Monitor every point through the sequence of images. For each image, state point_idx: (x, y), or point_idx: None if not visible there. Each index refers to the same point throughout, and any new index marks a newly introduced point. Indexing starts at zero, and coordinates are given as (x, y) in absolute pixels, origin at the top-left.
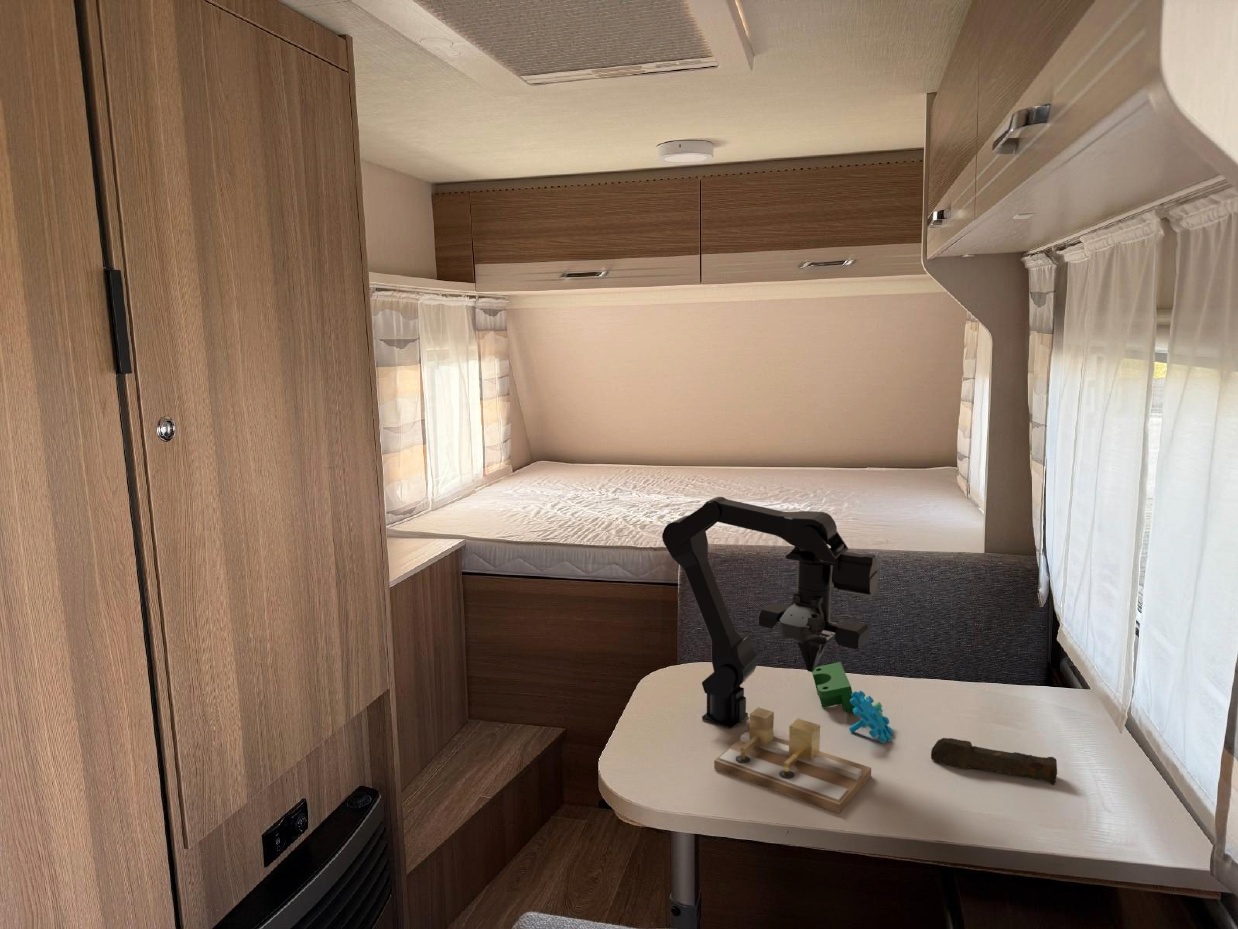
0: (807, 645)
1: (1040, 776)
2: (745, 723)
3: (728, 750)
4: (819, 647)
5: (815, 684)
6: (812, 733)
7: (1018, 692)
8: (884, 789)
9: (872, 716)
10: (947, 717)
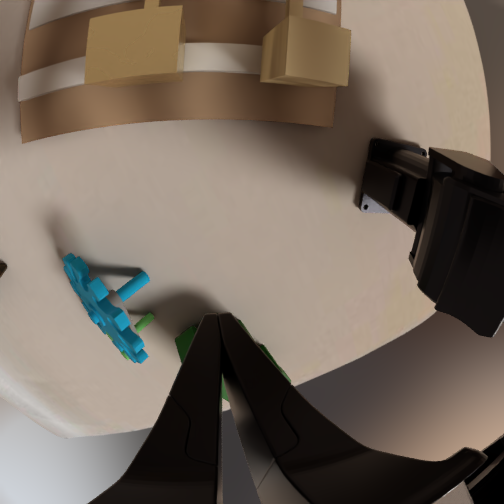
0: (267, 462)
1: None
2: (354, 178)
3: (335, 6)
4: (114, 485)
5: (273, 359)
6: (90, 22)
7: (82, 428)
8: (3, 118)
9: (90, 306)
10: (80, 376)
